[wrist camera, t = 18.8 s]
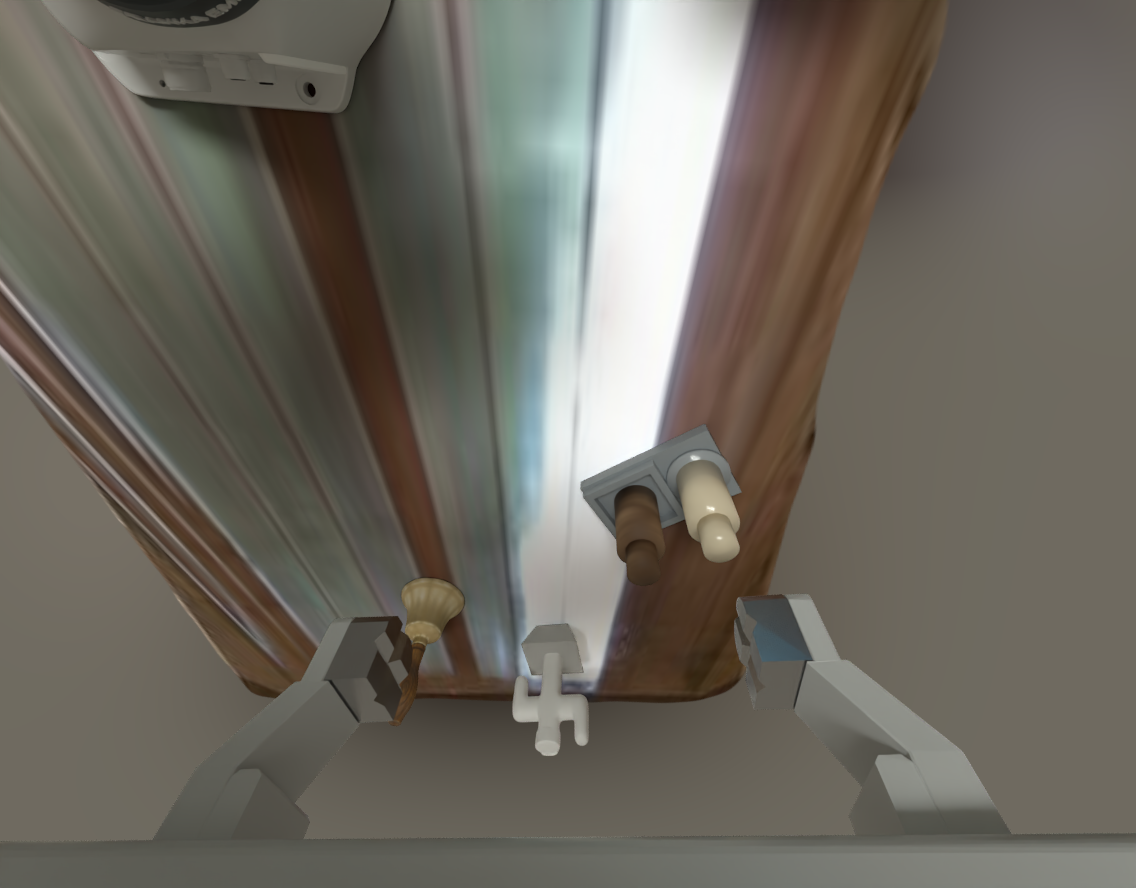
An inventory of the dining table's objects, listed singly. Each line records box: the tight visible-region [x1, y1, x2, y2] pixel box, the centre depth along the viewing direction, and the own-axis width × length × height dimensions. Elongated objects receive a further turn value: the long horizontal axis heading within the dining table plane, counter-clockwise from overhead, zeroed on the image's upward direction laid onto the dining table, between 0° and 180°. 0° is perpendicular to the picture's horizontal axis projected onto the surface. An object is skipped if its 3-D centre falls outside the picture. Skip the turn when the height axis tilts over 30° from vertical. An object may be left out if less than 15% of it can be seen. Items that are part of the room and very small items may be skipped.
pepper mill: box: [614, 485, 665, 586], centre depth 48 cm, size 5×5×10 cm
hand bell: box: [388, 578, 465, 726], centre depth 58 cm, size 8×8×16 cm
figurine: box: [513, 624, 589, 756], centre depth 62 cm, size 7×9×15 cm
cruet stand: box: [581, 424, 741, 562], centre depth 47 cm, size 15×9×12 cm, turn 122°
